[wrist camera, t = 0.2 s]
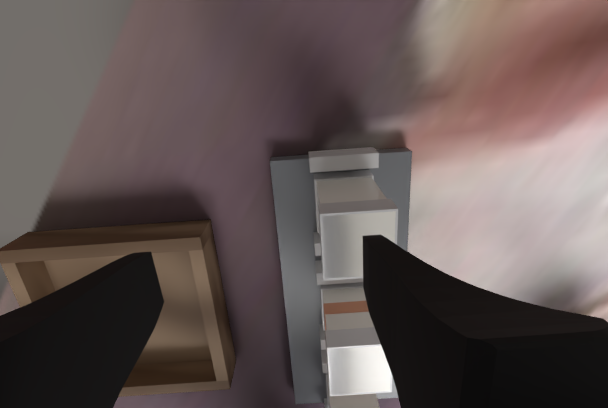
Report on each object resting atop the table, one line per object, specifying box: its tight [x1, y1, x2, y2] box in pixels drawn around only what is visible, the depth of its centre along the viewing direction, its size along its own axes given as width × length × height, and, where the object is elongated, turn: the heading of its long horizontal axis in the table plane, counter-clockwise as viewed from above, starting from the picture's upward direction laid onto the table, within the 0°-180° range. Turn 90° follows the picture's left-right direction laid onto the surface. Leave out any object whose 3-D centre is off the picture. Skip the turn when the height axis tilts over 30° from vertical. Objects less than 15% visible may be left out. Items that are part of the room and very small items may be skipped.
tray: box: [0, 219, 236, 397], centre depth 22 cm, size 12×12×2 cm
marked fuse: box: [320, 282, 392, 396], centre depth 20 cm, size 3×3×6 cm
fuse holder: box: [270, 147, 412, 408], centre depth 22 cm, size 20×8×2 cm, turn 4°
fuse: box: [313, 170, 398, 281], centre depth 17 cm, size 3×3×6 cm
